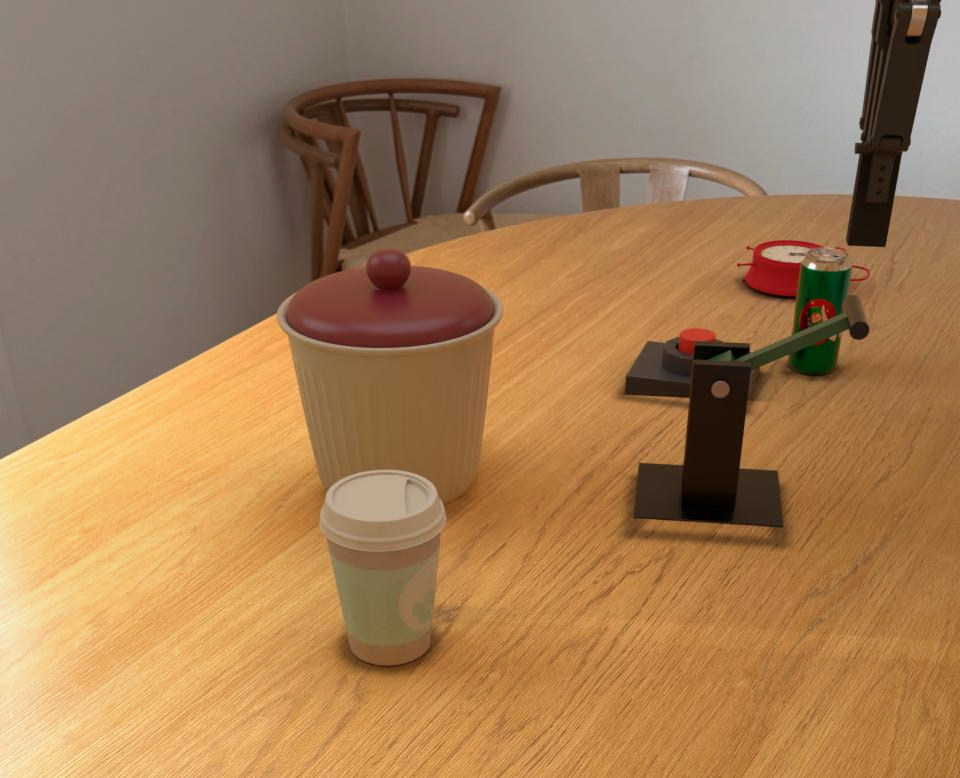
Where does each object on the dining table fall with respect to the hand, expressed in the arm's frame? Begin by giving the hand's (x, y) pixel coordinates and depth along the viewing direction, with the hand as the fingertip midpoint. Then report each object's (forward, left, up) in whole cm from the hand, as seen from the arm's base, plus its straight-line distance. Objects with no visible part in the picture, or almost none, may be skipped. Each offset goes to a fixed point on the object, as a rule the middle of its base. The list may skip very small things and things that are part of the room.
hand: (865, 243), depth 93 cm
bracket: (+9, +2, -23) cm, 25 cm away
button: (+15, -24, -19) cm, 35 cm away
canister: (+35, +7, -23) cm, 43 cm away
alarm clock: (+8, -58, -23) cm, 63 cm away
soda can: (+4, -32, -23) cm, 40 cm away
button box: (+15, -24, -23) cm, 37 cm away
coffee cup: (+27, +29, -23) cm, 46 cm away
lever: (+4, +1, -9) cm, 10 cm away
